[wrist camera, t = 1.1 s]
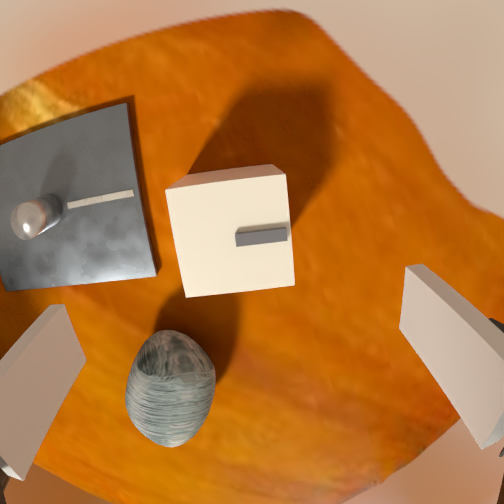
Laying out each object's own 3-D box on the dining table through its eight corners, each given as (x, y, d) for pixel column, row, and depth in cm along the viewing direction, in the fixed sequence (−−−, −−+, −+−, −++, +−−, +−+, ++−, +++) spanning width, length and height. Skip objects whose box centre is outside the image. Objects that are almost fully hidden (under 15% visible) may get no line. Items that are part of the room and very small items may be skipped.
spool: (122, 315, 28) (144, 413, 21) (214, 313, 33) (251, 397, 26) (113, 384, 35) (131, 458, 28) (183, 379, 40) (208, 446, 33)
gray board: (9, 288, 30) (-15, 309, 25) (-22, 156, 25) (-53, 163, 20) (158, 272, 30) (144, 298, 25) (129, 103, 25) (106, 97, 20)
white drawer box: (199, 254, 30) (185, 300, 21) (186, 174, 27) (163, 190, 19) (279, 245, 30) (295, 287, 21) (271, 163, 27) (286, 174, 19)
